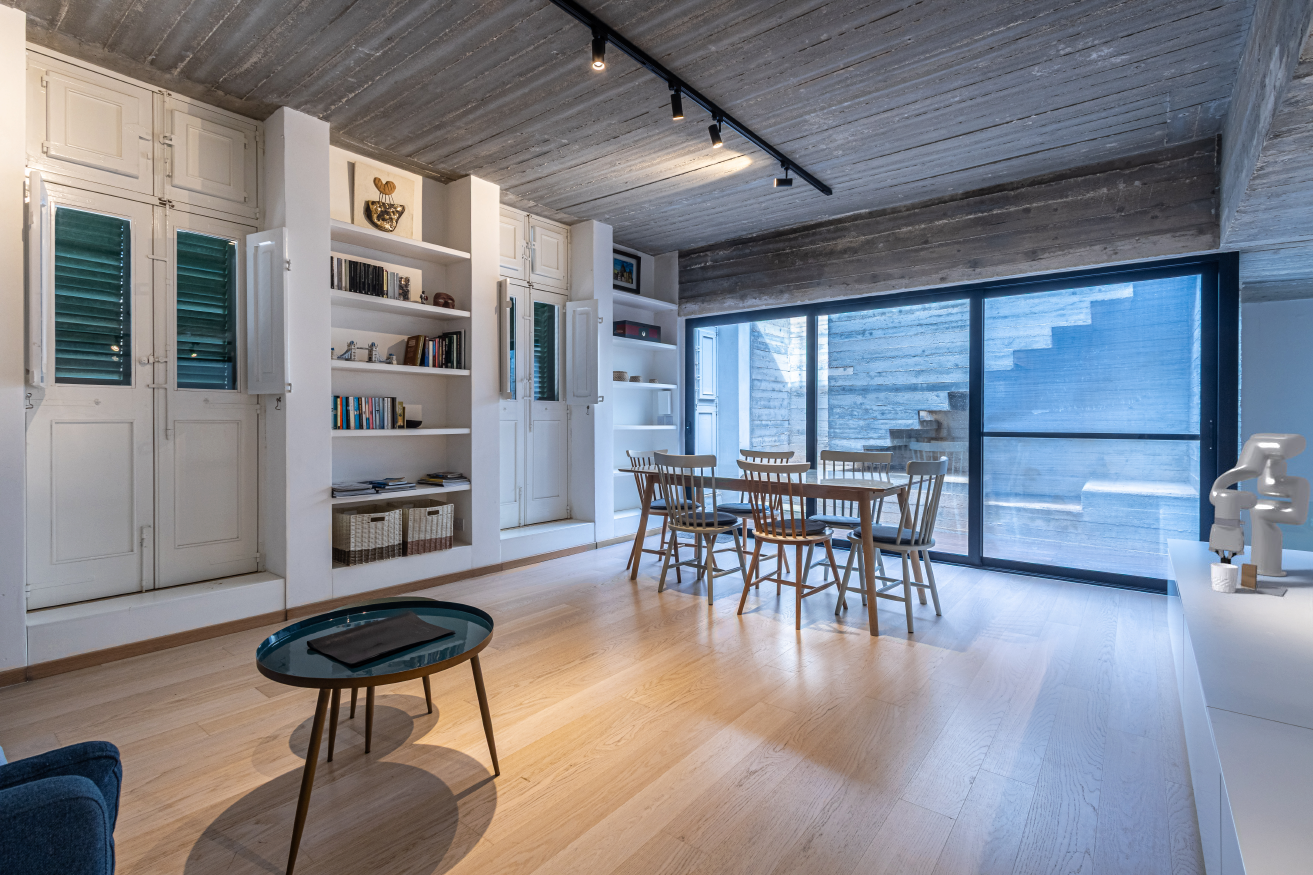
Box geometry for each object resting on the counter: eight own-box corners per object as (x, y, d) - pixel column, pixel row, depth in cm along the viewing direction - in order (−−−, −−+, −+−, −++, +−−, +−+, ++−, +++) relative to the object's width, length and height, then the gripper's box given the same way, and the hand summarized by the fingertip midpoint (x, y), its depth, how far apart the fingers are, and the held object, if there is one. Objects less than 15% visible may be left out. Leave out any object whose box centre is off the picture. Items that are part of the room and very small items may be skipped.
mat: (1260, 585, 248) (1260, 584, 248) (1286, 589, 242) (1286, 588, 242) (1254, 592, 239) (1254, 591, 239) (1281, 596, 233) (1281, 595, 233)
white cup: (1226, 587, 245) (1227, 562, 245) (1243, 593, 237) (1243, 568, 237) (1204, 587, 246) (1205, 562, 245) (1220, 593, 238) (1221, 567, 238)
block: (1242, 585, 248) (1243, 563, 248) (1256, 587, 245) (1257, 565, 245) (1240, 587, 246) (1241, 564, 245) (1254, 589, 243) (1255, 566, 242)
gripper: (1254, 523, 246) (1252, 569, 247) (1204, 518, 258) (1203, 562, 259) (1251, 526, 241) (1249, 572, 242) (1200, 521, 253) (1199, 565, 254)
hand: (1225, 567), depth 250 cm, fingers closed
